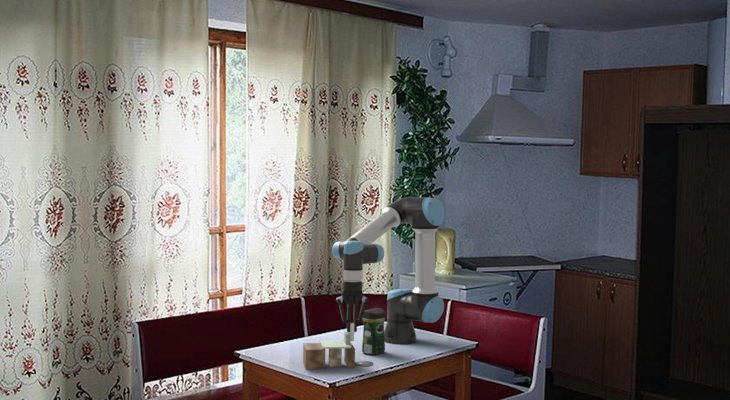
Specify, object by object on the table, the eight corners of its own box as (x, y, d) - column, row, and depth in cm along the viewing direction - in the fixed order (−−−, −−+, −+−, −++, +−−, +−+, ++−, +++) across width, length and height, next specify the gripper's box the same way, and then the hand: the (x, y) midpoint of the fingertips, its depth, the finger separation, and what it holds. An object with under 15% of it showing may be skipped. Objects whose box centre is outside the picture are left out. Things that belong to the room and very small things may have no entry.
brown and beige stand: (350, 360, 315) (350, 342, 315) (354, 367, 304) (355, 348, 304) (302, 362, 312) (303, 343, 312) (305, 369, 301) (305, 349, 301)
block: (339, 363, 311) (340, 345, 311) (341, 366, 307) (341, 348, 306) (328, 363, 310) (328, 346, 310) (329, 366, 306) (330, 348, 306)
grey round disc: (371, 361, 314) (371, 360, 314) (374, 366, 308) (374, 365, 308) (353, 362, 313) (353, 361, 313) (356, 366, 306) (356, 365, 306)
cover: (347, 341, 315) (347, 330, 315) (351, 348, 303) (351, 336, 303) (319, 342, 313) (319, 330, 313) (322, 348, 302) (323, 336, 301)
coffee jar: (373, 349, 336) (374, 306, 335) (387, 352, 330) (388, 308, 329) (358, 353, 328) (359, 308, 328) (372, 356, 323) (373, 311, 322)
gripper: (367, 279, 313) (366, 338, 314) (334, 279, 311) (333, 338, 312) (370, 281, 305) (369, 342, 306) (337, 282, 303) (336, 342, 304)
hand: (351, 340), depth 309 cm, fingers closed
